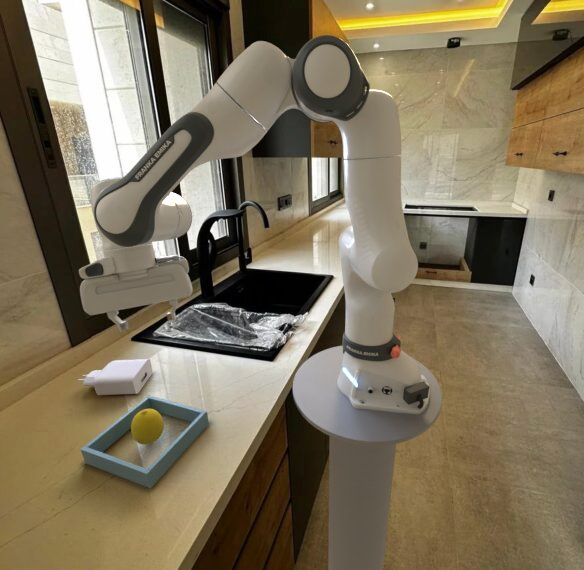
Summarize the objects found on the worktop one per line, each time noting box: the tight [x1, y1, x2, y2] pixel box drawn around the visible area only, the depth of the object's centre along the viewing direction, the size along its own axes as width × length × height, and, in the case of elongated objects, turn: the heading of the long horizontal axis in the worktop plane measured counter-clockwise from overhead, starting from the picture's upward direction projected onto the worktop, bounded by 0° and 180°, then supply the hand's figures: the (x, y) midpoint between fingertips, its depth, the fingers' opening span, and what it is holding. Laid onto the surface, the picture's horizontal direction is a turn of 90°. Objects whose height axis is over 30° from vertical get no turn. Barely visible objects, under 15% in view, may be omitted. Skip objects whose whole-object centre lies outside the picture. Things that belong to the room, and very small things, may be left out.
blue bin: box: [80, 394, 210, 489], centre depth 65 cm, size 16×16×4 cm
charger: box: [77, 358, 153, 396], centre depth 81 cm, size 5×9×15 cm
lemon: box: [130, 409, 165, 446], centre depth 64 cm, size 6×6×8 cm
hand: (148, 325), depth 70 cm, fingers open, 8 cm apart
